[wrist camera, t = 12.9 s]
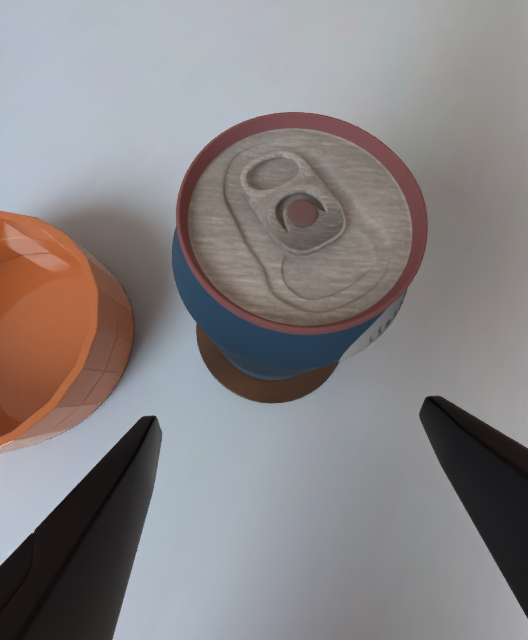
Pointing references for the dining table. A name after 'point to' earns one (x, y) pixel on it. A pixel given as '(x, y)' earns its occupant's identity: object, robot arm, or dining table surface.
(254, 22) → the dining table surface
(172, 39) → the dining table surface
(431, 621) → the dining table surface
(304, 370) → the soda can
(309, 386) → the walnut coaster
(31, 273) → the orange bowl
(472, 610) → the dining table surface
